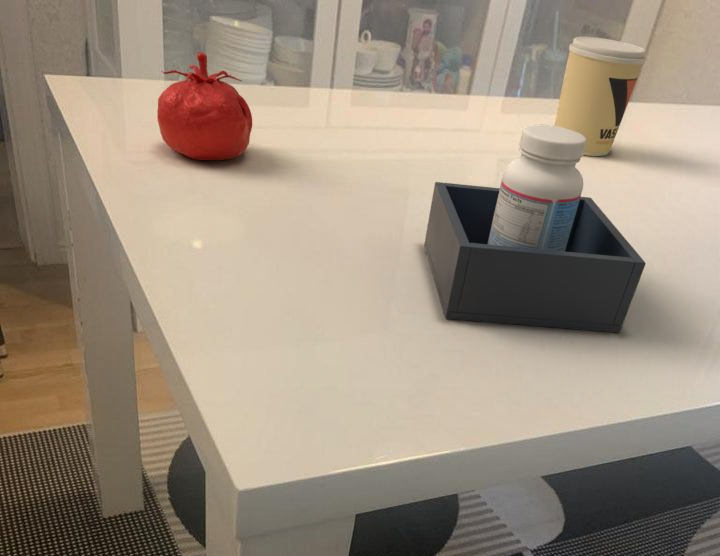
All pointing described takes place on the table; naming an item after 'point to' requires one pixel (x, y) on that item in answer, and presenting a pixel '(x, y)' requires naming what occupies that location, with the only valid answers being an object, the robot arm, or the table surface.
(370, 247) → the table surface
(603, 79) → the coffee cup
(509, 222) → the pill bottle
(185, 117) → the red tomato
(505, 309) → the dark grey open box
